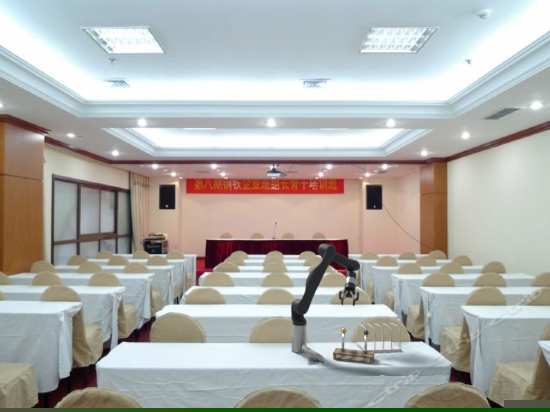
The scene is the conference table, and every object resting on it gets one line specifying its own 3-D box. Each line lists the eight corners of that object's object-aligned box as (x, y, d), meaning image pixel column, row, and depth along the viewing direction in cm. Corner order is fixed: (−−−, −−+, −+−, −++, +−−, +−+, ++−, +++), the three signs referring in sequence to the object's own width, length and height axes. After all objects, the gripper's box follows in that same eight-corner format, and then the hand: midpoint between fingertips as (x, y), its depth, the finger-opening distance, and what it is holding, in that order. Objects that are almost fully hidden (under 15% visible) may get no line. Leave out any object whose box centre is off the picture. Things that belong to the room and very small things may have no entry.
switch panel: (333, 359, 252) (333, 350, 252) (336, 354, 262) (336, 346, 262) (372, 363, 244) (372, 355, 244) (374, 358, 254) (374, 349, 254)
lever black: (362, 352, 250) (363, 329, 256) (362, 353, 253) (364, 330, 259) (367, 353, 249) (368, 329, 255) (368, 353, 252) (369, 330, 258)
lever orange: (339, 350, 255) (341, 327, 261) (340, 350, 257) (341, 328, 264) (344, 350, 254) (346, 327, 260) (345, 351, 256) (346, 328, 262)
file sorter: (365, 353, 264) (365, 328, 265) (356, 345, 282) (356, 322, 282) (402, 351, 268) (401, 327, 268) (391, 343, 285) (390, 321, 286)
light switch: (324, 359, 246) (303, 347, 248) (319, 368, 247) (298, 355, 248) (324, 355, 255) (303, 343, 257) (319, 363, 255) (299, 351, 257)
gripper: (339, 281, 288) (336, 301, 276) (360, 282, 283) (357, 302, 272) (340, 287, 293) (338, 307, 281) (361, 288, 288) (359, 308, 277)
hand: (347, 304), depth 277 cm, fingers open, 7 cm apart
